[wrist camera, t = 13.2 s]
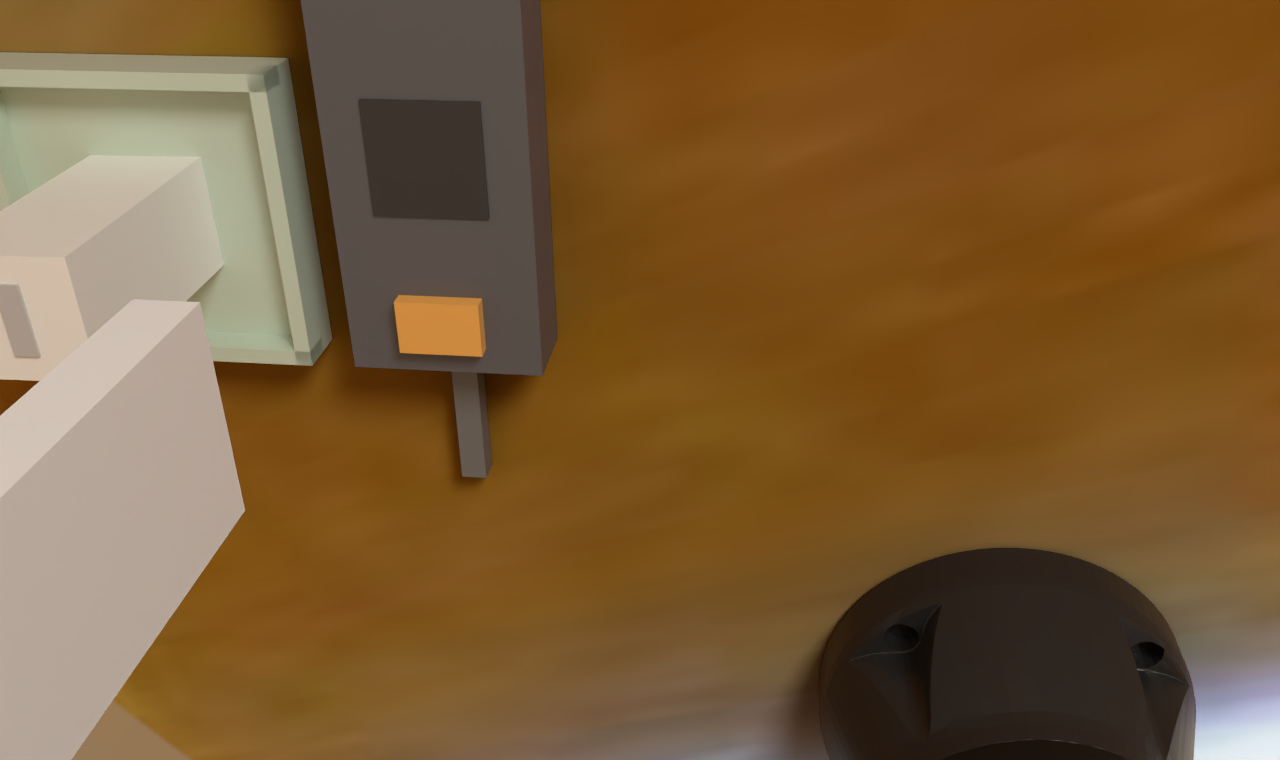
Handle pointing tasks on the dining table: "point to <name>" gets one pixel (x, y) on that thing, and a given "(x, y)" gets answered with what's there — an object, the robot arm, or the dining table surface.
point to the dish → (232, 162)
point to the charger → (99, 252)
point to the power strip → (439, 189)
